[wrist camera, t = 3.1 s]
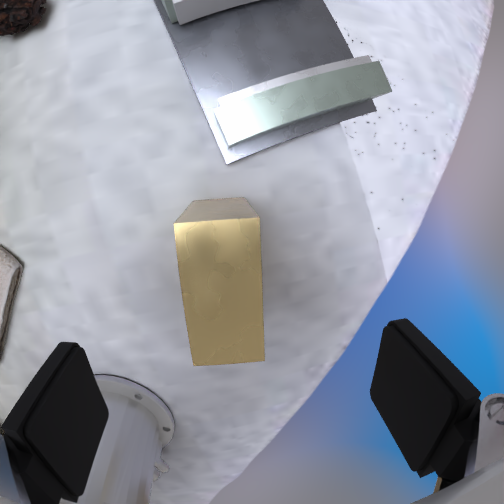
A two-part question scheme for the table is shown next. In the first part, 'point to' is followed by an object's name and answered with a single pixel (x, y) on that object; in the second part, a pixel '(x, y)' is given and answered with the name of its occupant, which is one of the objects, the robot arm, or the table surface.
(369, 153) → the table surface
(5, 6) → the brown lumpy club
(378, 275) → the table surface
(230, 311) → the brass block
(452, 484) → the robot arm
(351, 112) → the vise
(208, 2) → the block
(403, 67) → the table surface
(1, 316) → the washcloth
